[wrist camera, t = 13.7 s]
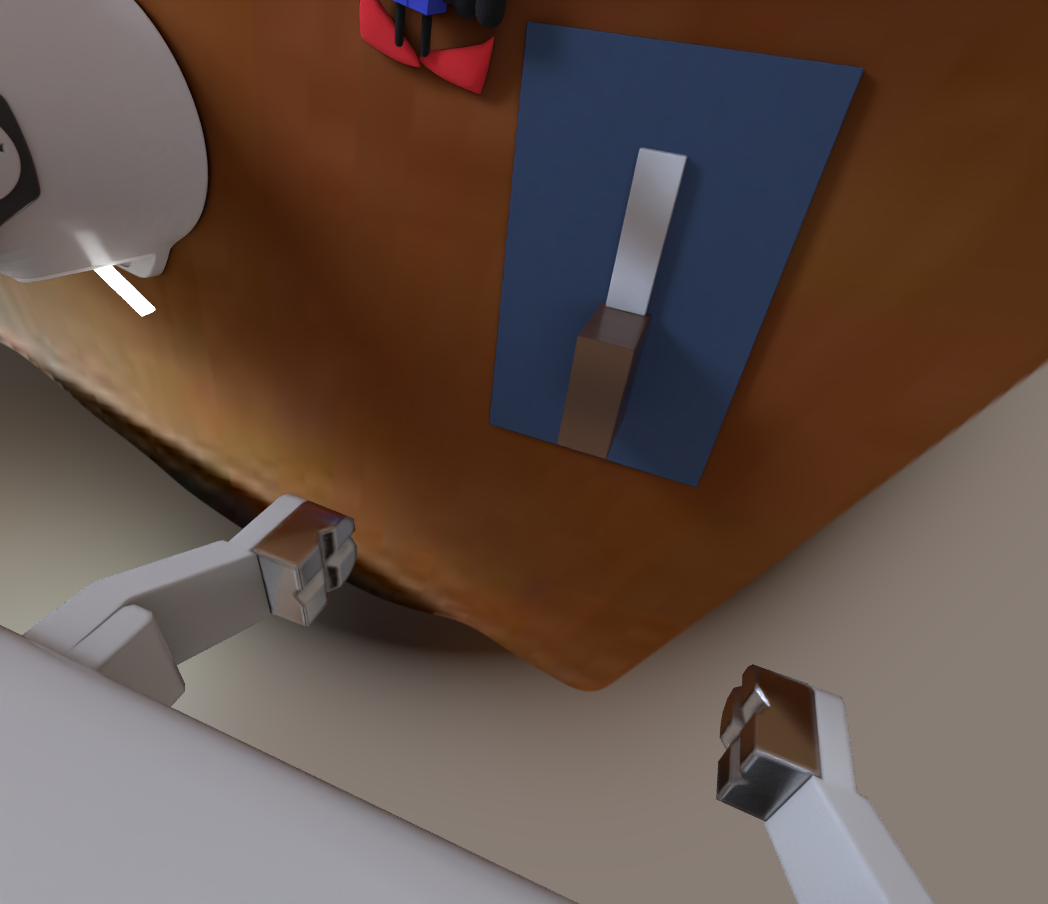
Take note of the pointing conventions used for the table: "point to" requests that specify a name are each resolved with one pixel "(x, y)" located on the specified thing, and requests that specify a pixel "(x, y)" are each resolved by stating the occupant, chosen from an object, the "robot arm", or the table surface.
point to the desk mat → (694, 232)
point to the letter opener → (621, 311)
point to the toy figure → (449, 64)
